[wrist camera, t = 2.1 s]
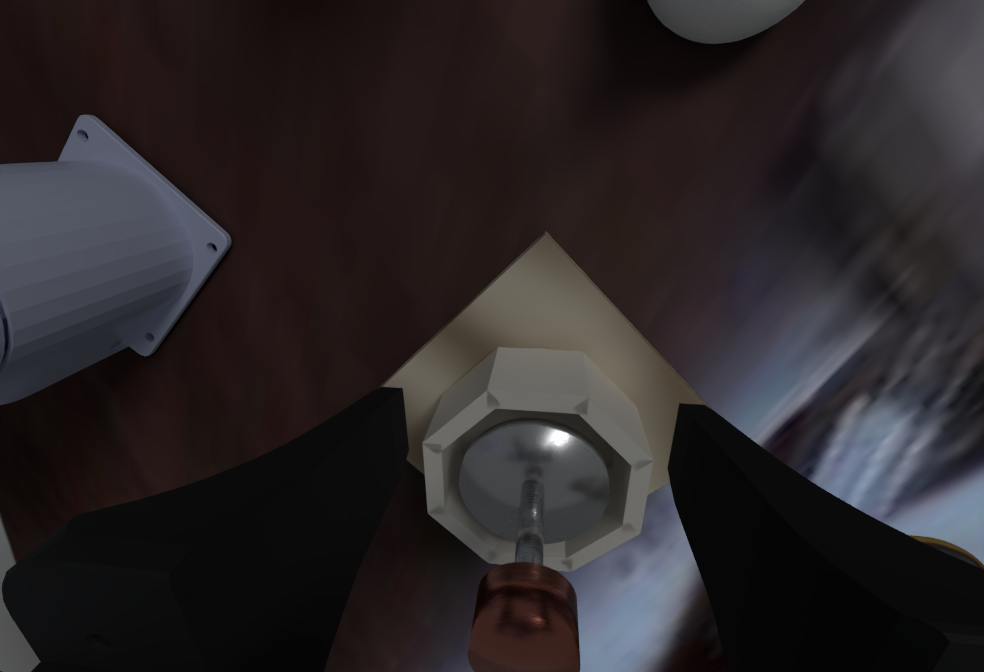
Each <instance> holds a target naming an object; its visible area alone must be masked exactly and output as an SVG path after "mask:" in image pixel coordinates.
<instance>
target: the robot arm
mask: <svg viewBox="0 0 984 672" xmlns="http://www.w3.org/2000/svg"><path fill="white" fill-rule="evenodd" d="M85 132H86V133H87V135H88V139H87V138H86V135H85ZM212 243H213V244H215V246H216V247H217V251H215V250H214V249H213V247H212ZM230 246H231V238H230V236H229V234H228V233H227V232H226V231H225V230H224V229H222V228H221V227H220V226H219V225H218V224H217V223H216V222H214V221H213V220H212V219H211V218H210V217H209V216H208V215H207V214H205V213H204V212H203V211H202V210H201V209H200V208H199V207H198V206H196V205H195V204H194V203H193V202H192V201H191V200H190V199H189V198H187V197H186V196H185V195H184V194H183V193H182V192H181V191H179V190H178V189H177V188H176V187H175V186H174V185H173V184H172V183H170V182H169V181H168V180H167V179H166V178H165V177H164V176H163V175H161V174H160V173H159V172H158V171H157V170H156V169H155V168H154V167H152V166H151V165H150V164H149V163H148V162H147V161H146V160H145V159H143V158H142V157H141V156H140V155H139V154H138V153H137V152H135V151H134V150H133V149H132V148H131V147H130V146H129V145H128V144H126V143H125V142H124V141H123V140H122V139H121V138H120V137H119V136H117V135H116V134H115V133H114V132H113V131H112V130H111V129H110V128H108V127H107V126H106V125H105V124H104V123H103V122H102V121H100V120H99V119H98V118H97V117H95V116H93V115H81V116H79V118H78V119H77V121H76V123H75V126H74V128H73V130H72V132H71V134H70V136H69V138H68V140H67V143H66V145H65V147H64V149H63V151H62V153H61V155H60V158H59V160H58V162H39V163H18V164H0V405H3V404H7V403H11V402H14V401H17V400H20V399H23V398H25V397H27V396H29V395H31V394H33V393H35V392H37V391H39V390H42V389H44V388H46V387H48V386H50V385H52V384H54V383H56V382H58V381H60V380H62V379H64V378H66V377H68V376H70V375H72V374H74V373H76V372H78V371H80V370H82V369H84V368H86V367H88V366H90V365H92V364H94V363H96V362H98V361H100V360H102V359H104V358H106V357H108V356H110V355H112V354H114V353H116V352H119V351H121V350H123V349H125V348H127V347H131V348H132V349H133V350H135V351H136V352H137V353H138V354H140V355H142V356H149V355H151V354H153V353H154V352H155V351H156V350H157V348H158V347H159V345H160V344H161V343H162V341H163V340H164V338H165V337H166V336H167V334H168V333H169V331H170V330H171V329H172V327H173V326H174V324H175V323H176V322H177V320H178V319H179V317H180V316H181V315H182V313H183V312H184V310H185V309H186V308H187V306H188V305H189V304H190V302H191V301H192V299H193V298H194V297H195V295H196V294H197V292H198V291H199V290H200V288H201V287H202V285H203V284H204V283H205V281H206V280H207V278H208V277H209V276H210V274H211V273H212V271H213V270H214V269H215V267H216V266H217V265H218V263H219V262H220V260H221V259H222V258H223V256H224V255H225V253H226V252H227V251H228V249H229V248H230ZM151 334H152V335H153V336H154V337H153V336H152V335H151ZM408 452H409V444H408V434H407V424H406V414H405V404H404V395H403V388H394V387H380V388H378V389H376V390H374V391H373V392H371V393H369V394H368V395H366V396H365V397H363V398H361V399H360V400H358V401H357V402H355V403H354V404H352V405H351V406H349V407H347V408H346V409H344V410H343V411H341V412H339V413H338V414H336V415H335V416H333V417H332V418H330V419H328V420H327V421H325V422H323V423H322V424H320V425H318V426H317V427H315V428H313V429H311V430H310V431H308V432H306V433H304V434H303V435H301V436H299V437H297V438H296V439H294V440H292V441H290V442H288V443H287V444H285V445H283V446H281V447H279V448H277V449H275V450H273V451H270V452H268V453H266V454H264V455H262V456H260V457H258V458H256V459H253V460H251V461H249V462H247V463H244V464H242V465H239V466H236V467H234V468H231V469H229V470H226V471H224V472H221V473H219V474H216V475H214V476H211V477H209V478H206V479H203V480H200V481H197V482H195V483H192V484H189V485H186V486H183V487H180V488H177V489H173V490H170V491H167V492H164V493H160V494H157V495H154V496H150V497H147V498H143V499H140V500H136V501H132V502H128V503H124V504H120V505H116V506H112V507H108V508H104V509H100V510H96V511H92V512H88V513H83V514H79V515H77V516H75V517H74V518H72V519H71V520H70V521H69V522H67V523H66V524H65V525H64V526H62V527H61V528H60V529H59V530H57V531H56V532H55V533H54V534H53V535H51V536H50V537H49V538H48V539H46V540H45V541H44V542H43V543H41V544H40V545H39V546H38V547H37V548H35V549H34V550H33V551H32V552H30V553H29V554H28V555H27V556H25V557H24V558H23V559H22V560H20V561H19V562H18V563H17V564H15V565H14V566H13V567H12V568H11V569H9V570H8V571H7V572H6V575H5V577H4V580H3V583H2V593H3V600H4V603H5V605H6V607H7V609H8V611H9V613H10V615H11V617H12V618H13V620H14V621H15V623H16V625H17V626H18V628H19V629H20V631H21V632H22V633H23V635H24V637H25V638H26V639H27V641H28V643H29V645H30V646H31V647H32V649H33V651H34V652H35V654H36V655H37V657H38V658H39V660H40V661H41V662H40V663H39V664H38V665H37V666H36V667H35V668H34V670H32V672H324V669H325V665H326V662H327V659H328V656H329V653H330V650H331V647H332V644H333V641H334V638H335V635H336V632H337V629H338V626H339V623H340V620H341V617H342V614H343V611H344V608H345V605H346V602H347V599H348V597H349V594H350V591H351V588H352V585H353V583H354V580H355V577H356V574H357V572H358V569H359V567H360V565H361V562H362V560H363V557H364V555H365V553H366V551H367V549H368V547H369V545H370V543H371V540H372V538H373V536H374V534H375V532H376V530H377V528H378V526H379V524H380V522H381V520H382V517H383V515H384V513H385V511H386V509H387V507H388V505H389V503H390V501H391V498H392V496H393V494H394V492H395V490H396V488H397V485H398V483H399V481H400V478H401V475H402V472H403V469H404V465H405V462H406V459H407V455H408ZM667 469H668V474H669V479H670V484H671V488H672V493H673V497H674V501H675V505H676V508H677V511H678V514H679V517H680V519H681V522H682V525H683V528H684V531H685V533H686V536H687V539H688V541H689V544H690V547H691V550H692V552H693V555H694V558H695V560H696V563H697V566H698V569H699V571H700V574H701V577H702V579H703V582H704V585H705V587H706V590H707V594H708V597H709V600H710V603H711V606H712V609H713V613H714V617H715V621H716V624H717V628H718V632H719V636H720V640H721V644H722V648H723V652H724V656H725V660H726V664H727V668H728V672H984V570H983V569H981V568H979V567H977V566H974V565H972V564H970V563H967V562H965V561H963V560H960V559H958V558H956V557H953V556H951V555H949V554H947V553H944V552H942V551H940V550H938V549H936V548H934V547H931V546H929V545H927V544H925V543H923V542H921V541H918V540H916V539H914V538H912V537H910V536H908V535H906V534H904V533H902V532H900V531H898V530H896V529H894V528H892V527H890V526H888V525H886V524H884V523H882V522H880V521H878V520H877V519H875V518H873V517H871V516H869V515H867V514H865V513H864V512H862V511H860V510H858V509H856V508H854V507H853V506H851V505H849V504H848V503H846V502H844V501H842V500H841V499H839V498H837V497H836V496H834V495H832V494H830V493H829V492H827V491H825V490H824V489H822V488H820V487H819V486H817V485H816V484H814V483H812V482H811V481H809V480H808V479H806V478H805V477H803V476H802V475H800V474H799V473H797V472H796V471H794V470H793V469H791V468H790V467H788V466H787V465H786V464H784V463H783V462H781V461H780V460H778V459H777V458H776V457H774V456H773V455H771V454H770V453H769V452H767V451H766V450H765V449H763V448H762V447H761V446H759V445H758V444H756V443H755V442H754V441H752V440H751V439H750V438H749V437H747V436H746V435H745V434H743V433H742V432H741V431H739V430H738V429H737V428H736V427H734V426H733V425H732V424H730V423H729V422H728V421H727V420H725V419H724V418H723V417H721V416H720V415H719V414H717V413H716V412H715V411H713V410H712V409H710V408H709V407H707V406H706V405H702V404H683V403H679V407H678V413H677V418H676V424H675V429H674V435H673V440H672V446H671V451H670V457H669V462H668V468H667ZM0 672H1V671H0Z"/></svg>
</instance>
